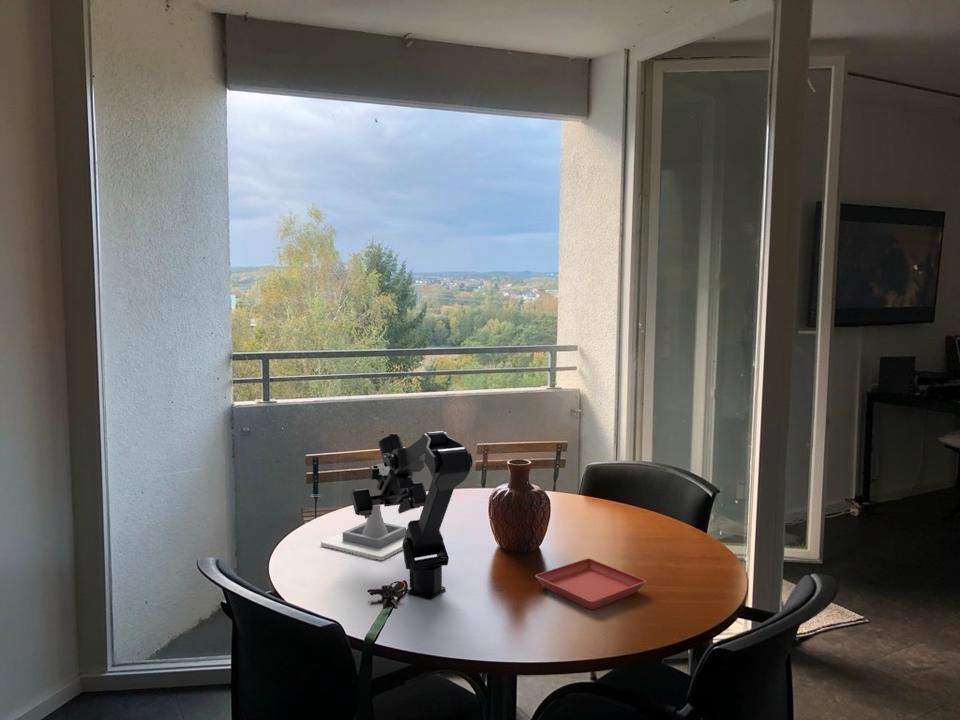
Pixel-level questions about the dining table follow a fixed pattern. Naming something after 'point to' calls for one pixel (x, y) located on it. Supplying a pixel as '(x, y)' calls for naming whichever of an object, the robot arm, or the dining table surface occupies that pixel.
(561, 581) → the plant saucer
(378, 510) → the flask
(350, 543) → the collar board
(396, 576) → the dining table surface
